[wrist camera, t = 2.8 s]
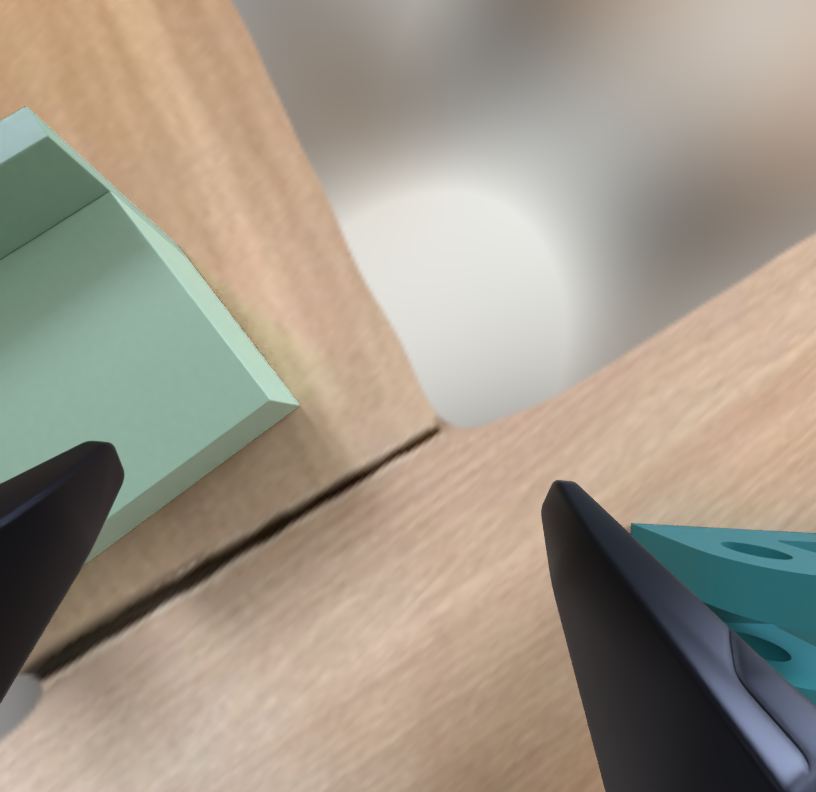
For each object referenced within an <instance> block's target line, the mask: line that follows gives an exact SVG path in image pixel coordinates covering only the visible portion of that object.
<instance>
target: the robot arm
mask: <svg viewBox="0 0 816 792" xmlns="http://www.w3.org/2000/svg"><path fill="white" fill-rule="evenodd" d="M124 476H125V474H124V469H123V466H122V464H121V461H120V459H119V456H118V453H117V451H116V448H115V446H114V445H113V444H112V443H110V442H104V441H86V442H83V443H81V444H79V445H77V446H75V447H73V448H71V449H69V450H67V451H65V452H63V453H61V454H59V455H57V456H55V457H53V458H51V459H49V460H47V461H45V462H43V463H41V464H39V465H37V466H35V467H33V468H31V469H29V470H27V471H25V472H23V473H21V474H19V475H17V476H15V477H13V478H11V479H9V480H7V481H5V482H3V483H1V484H0V703H1V702H2V700H3V698H4V697H5V695H6V693H7V691H8V690H9V688H10V687H11V685H12V683H13V681H14V680H15V678H16V677H17V675H18V673H19V672H20V670H21V668H22V667H23V665H24V663H25V662H26V660H27V658H28V657H29V655H30V653H31V652H32V650H33V648H34V647H35V645H36V643H37V642H38V640H39V638H40V637H41V635H42V633H43V632H44V630H45V628H46V627H47V625H48V623H49V622H50V620H51V618H52V617H53V615H54V613H55V612H56V610H57V608H58V606H59V605H60V603H61V601H62V600H63V598H64V596H65V595H66V593H67V591H68V590H69V588H70V586H71V585H72V583H73V581H74V580H75V578H76V576H77V575H78V573H79V571H80V570H81V568H82V566H83V565H84V563H85V561H86V559H87V558H88V556H89V554H90V552H91V550H92V548H93V546H94V544H95V542H96V540H97V538H98V536H99V534H100V532H101V530H102V527H103V525H104V523H105V521H106V519H107V517H108V514H109V512H110V510H111V508H112V506H113V504H114V501H115V499H116V497H117V495H118V493H119V491H120V489H121V486H122V484H123V481H124ZM541 516H542V523H543V530H544V537H545V543H546V550H547V557H548V564H549V571H550V577H551V582H552V587H553V591H554V596H555V600H556V603H557V607H558V611H559V615H560V619H561V623H562V626H563V630H564V634H565V638H566V642H567V646H568V649H569V653H570V657H571V661H572V665H573V669H574V672H575V676H576V680H577V684H578V688H579V692H580V695H581V699H582V703H583V707H584V711H585V715H586V718H587V722H588V726H589V730H590V734H591V738H592V741H593V745H594V749H595V753H596V757H597V761H598V764H599V768H600V772H601V776H602V780H603V784H604V787H605V791H606V792H816V705H815V704H813V703H812V702H811V701H810V700H809V699H808V698H806V697H805V696H804V695H803V694H802V693H801V692H800V691H798V690H797V689H796V688H795V687H794V686H793V685H791V684H790V683H789V682H788V681H787V680H786V679H785V678H784V677H782V676H781V675H780V674H779V673H778V672H777V671H776V670H775V669H774V668H773V667H772V666H770V665H769V664H768V663H767V662H766V661H765V660H764V659H763V658H762V657H761V656H760V655H758V654H757V653H756V652H755V651H754V650H753V649H752V648H751V647H750V646H749V645H748V644H747V643H746V642H744V641H743V640H742V639H741V638H740V637H739V636H738V635H737V634H736V633H735V632H734V631H733V630H729V629H728V626H727V625H726V624H725V623H724V622H723V621H722V620H721V619H720V618H719V617H718V616H717V615H716V614H715V613H714V612H712V611H711V610H710V609H709V608H708V607H707V606H706V605H705V604H704V603H703V602H702V601H701V600H700V599H699V598H698V597H697V596H695V595H694V594H693V593H692V592H691V591H690V590H689V589H688V588H687V587H686V586H685V585H684V584H683V583H682V582H681V581H680V580H679V579H677V578H676V577H675V576H674V575H673V574H672V573H671V572H670V571H669V570H668V569H667V568H666V567H665V566H664V565H663V564H662V563H660V562H659V561H658V560H657V559H656V558H655V557H654V556H653V555H652V554H651V553H650V552H649V551H648V550H647V549H646V548H645V547H644V546H642V545H641V544H640V543H639V542H638V541H637V540H636V539H635V538H634V537H633V536H632V535H631V534H630V533H629V532H628V531H627V530H625V529H624V528H623V527H622V526H621V525H620V524H619V523H618V522H617V521H616V520H615V519H614V518H613V517H612V516H611V515H610V514H609V513H607V512H606V511H605V510H604V509H603V508H602V507H601V506H600V505H599V504H598V503H597V502H596V501H595V500H594V499H593V498H592V497H590V496H589V495H588V494H587V493H586V492H585V491H584V490H583V489H582V488H581V487H580V486H579V485H578V484H576V483H575V482H572V481H562V480H556V481H554V482H553V484H552V485H551V487H550V490H549V492H548V494H547V496H546V498H545V500H544V503H543V505H542V510H541Z"/></svg>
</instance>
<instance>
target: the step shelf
mask: <svg viewBox="0 0 816 792" xmlns="http://www.w3.org/2000/svg"><path fill="white" fill-rule="evenodd" d="M299 406H300V404H299V403H298V402H297V400H296V399H295V398H294V396H293V395H292V394H291V393H290V391H289V390H288V389H287V387H286V386H285V385H284V383H283V382H282V381H281V380H280V378H279V377H278V376H277V374H276V373H275V372H274V370H273V369H272V368H271V367H270V365H269V364H268V363H267V361H266V360H265V359H264V357H263V356H262V355H261V353H260V352H259V351H258V350H257V348H256V347H255V346H254V344H253V343H252V342H251V340H250V339H249V338H248V337H247V335H246V334H245V333H244V331H243V330H242V329H241V327H240V326H239V325H238V323H237V322H236V321H235V320H234V318H233V317H232V316H231V314H230V313H229V312H228V310H227V309H226V308H225V307H224V305H223V304H222V303H221V301H220V300H219V299H218V297H217V296H216V295H215V294H214V292H213V291H212V290H211V288H210V287H209V286H208V284H207V283H206V282H205V280H204V279H203V278H202V277H201V275H200V274H199V273H198V271H197V270H196V269H195V267H194V266H193V265H192V264H191V262H190V261H189V260H188V258H187V257H186V256H185V254H184V253H183V252H182V250H181V249H180V248H179V247H178V245H177V244H176V243H175V242H174V241H173V240H172V239H171V238H170V237H169V236H168V235H167V234H165V233H164V232H163V231H162V230H161V229H160V228H159V227H158V226H157V225H156V224H155V223H153V222H152V221H151V220H150V219H149V218H148V217H147V216H146V215H145V214H144V213H143V212H142V211H140V210H139V209H138V208H137V207H136V206H135V205H134V204H133V203H132V202H131V201H130V200H128V199H127V198H126V197H125V196H124V195H123V194H122V193H121V192H120V191H119V190H118V189H116V188H115V187H114V186H113V185H112V184H111V183H110V182H109V181H108V180H107V179H106V178H104V177H103V176H102V175H101V174H100V173H99V172H98V171H97V170H96V169H95V168H94V167H93V166H91V165H90V164H89V163H88V162H87V161H86V160H85V159H84V158H83V157H82V156H81V155H79V154H78V153H77V152H76V151H75V150H74V149H73V148H72V147H71V146H70V145H69V144H67V143H66V142H65V141H64V140H63V139H62V138H61V137H60V136H59V135H58V134H57V133H55V132H54V131H53V130H52V129H51V128H50V127H49V126H48V125H47V124H46V123H45V122H44V121H42V120H41V119H40V118H39V117H38V116H37V115H36V114H35V113H34V112H33V111H32V110H30V109H29V108H28V107H26V106H25V107H23V108H21V109H19V110H18V111H16V112H14V113H13V114H11V115H9V116H8V117H6V118H4V119H2V120H1V121H0V484H1V483H3V482H5V481H7V480H9V479H11V478H13V477H15V476H17V475H19V474H21V473H23V472H25V471H27V470H29V469H31V468H33V467H35V466H37V465H39V464H41V463H43V462H45V461H47V460H49V459H51V458H53V457H55V456H57V455H59V454H61V453H63V452H65V451H67V450H69V449H71V448H73V447H75V446H77V445H79V444H81V443H83V442H86V441H104V442H110V443H112V444H113V445H114V446H115V448H116V451H117V453H118V456H119V459H120V461H121V464H122V466H123V469H124V474H125V476H124V481H123V484H122V486H121V489H120V491H119V493H118V495H117V497H116V499H115V501H114V504H113V506H112V508H111V510H110V512H109V514H108V517H107V519H106V521H105V523H104V525H103V527H102V530H101V532H100V534H99V536H98V538H97V540H96V542H95V544H94V546H93V548H92V550H91V552H90V554H89V556H88V558H87V559H86V561H85V563H84V565H85V564H87V563H88V562H89V561H91V560H92V559H93V558H95V557H96V556H97V555H99V554H100V553H101V552H103V551H104V550H105V549H107V548H108V547H110V546H111V545H112V544H114V543H115V542H116V541H118V540H119V539H120V538H122V537H123V536H124V535H126V533H128V532H130V531H131V530H133V529H134V528H135V527H137V526H138V525H139V524H141V523H142V522H143V521H145V520H146V519H147V518H149V517H150V516H151V515H153V514H154V513H155V512H157V511H158V510H160V509H161V508H162V507H164V506H165V505H166V504H168V503H169V502H170V501H172V500H173V499H174V498H176V497H177V496H178V495H180V494H181V493H183V492H184V491H185V490H187V489H188V488H189V487H191V486H192V485H193V484H195V483H196V482H197V481H199V480H200V479H201V478H203V477H204V476H205V475H207V474H208V473H210V472H211V471H212V470H214V469H215V468H216V467H218V466H219V465H220V464H222V463H223V462H224V461H226V460H227V459H228V458H230V457H231V456H233V455H234V454H235V453H237V452H238V451H239V450H241V449H242V448H243V447H245V446H246V445H247V444H249V443H250V442H251V441H253V440H254V439H255V438H257V437H258V436H260V435H261V434H262V433H264V432H265V431H266V430H268V429H269V428H270V427H272V426H273V425H274V424H276V423H277V422H278V421H280V420H281V419H283V418H284V417H285V416H287V415H288V414H289V413H291V412H292V411H293V410H295V409H296V408H297V407H299ZM84 565H83V566H84ZM83 566H82V567H83Z"/></svg>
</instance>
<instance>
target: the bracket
mask: <svg viewBox="0 0 816 792" xmlns="http://www.w3.org/2000/svg"><path fill="white" fill-rule="evenodd" d="M631 535H632V536H633V537H634V538H635V539H636V540H637V541H638V542H639V543H640V544H641V545H642V546H644V547H645V548H646V549H647V550H648V551H649V552H650V553H651V554H652V555H653V556H654V557H655V558H656V559H657V560H658V561H659V562H660V563H662V564H663V565H664V566H665V567H666V568H667V569H668V570H669V571H670V572H671V573H672V574H673V575H674V576H675V577H676V578H677V579H679V580H680V581H681V582H682V583H683V584H684V585H685V586H686V587H687V588H688V589H689V590H690V591H691V592H692V593H693V594H694V595H695V596H697V597H698V598H699V599H700V600H701V601H702V602H703V603H704V604H705V605H706V606H707V607H708V608H709V609H710V610H711V611H712V612H714V613H715V614H716V615H717V616H718V617H719V618H720V619H721V620H722V621H723V622H724V623H725V624H726V625H727V626H728V629H729V630H733V631H734V632H735V633H736V634H737V635H738V636H739V637H740V638H741V639H742V640H743V641H744V642H746V643H747V644H748V645H749V646H750V647H751V648H752V649H753V650H754V651H755V652H756V653H757V654H758V655H760V656H761V657H762V658H763V659H764V660H765V661H766V662H767V663H768V664H769V665H770V666H772V667H773V668H774V669H775V670H776V671H777V672H778V673H779V674H780V675H781V676H782V677H784V678H785V679H786V680H787V681H788V682H789V683H790V684H791V685H793V686H794V687H795V688H796V689H797V690H798V691H800V692H801V693H802V694H803V695H804V696H805V697H806V698H808V699H809V700H810V701H811V702H812V703H813V704H815V705H816V533H799V532H781V531H762V530H744V529H726V528H707V527H689V526H670V525H652V524H634V523H631Z"/></svg>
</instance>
